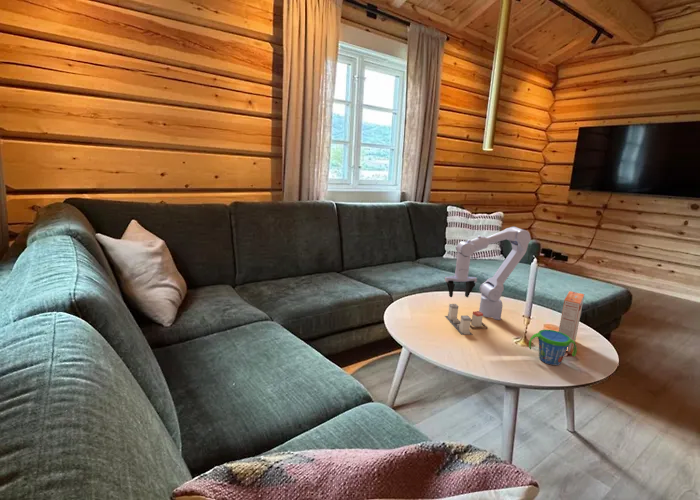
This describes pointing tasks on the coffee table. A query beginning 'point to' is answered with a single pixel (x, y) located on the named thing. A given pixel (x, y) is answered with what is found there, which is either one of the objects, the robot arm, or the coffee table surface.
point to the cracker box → (571, 316)
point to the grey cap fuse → (453, 311)
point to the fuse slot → (465, 323)
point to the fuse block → (458, 326)
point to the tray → (479, 327)
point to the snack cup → (552, 346)
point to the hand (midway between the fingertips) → (458, 296)
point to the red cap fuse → (477, 319)
